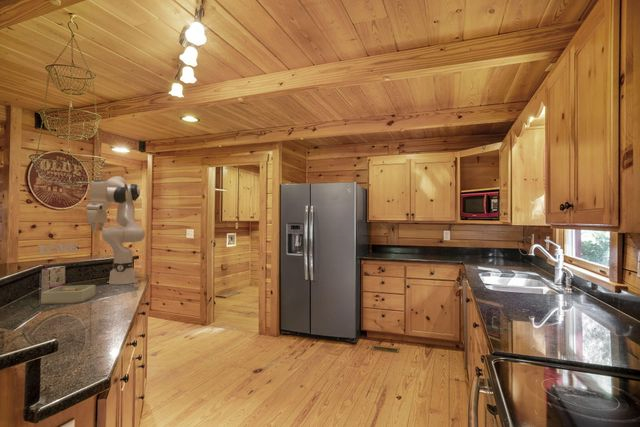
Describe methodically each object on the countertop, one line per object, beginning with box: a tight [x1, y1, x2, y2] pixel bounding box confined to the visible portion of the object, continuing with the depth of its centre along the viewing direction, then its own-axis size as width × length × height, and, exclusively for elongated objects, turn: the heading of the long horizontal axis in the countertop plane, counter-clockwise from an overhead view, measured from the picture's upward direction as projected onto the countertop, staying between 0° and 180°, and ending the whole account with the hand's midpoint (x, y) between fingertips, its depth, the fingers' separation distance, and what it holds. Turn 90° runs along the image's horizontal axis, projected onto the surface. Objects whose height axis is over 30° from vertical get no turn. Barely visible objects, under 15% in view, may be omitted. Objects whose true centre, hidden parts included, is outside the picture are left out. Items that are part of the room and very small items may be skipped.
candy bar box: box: [40, 265, 67, 294], centre depth 185 cm, size 11×5×16 cm, turn 179°
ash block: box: [62, 288, 79, 292], centre depth 178 cm, size 4×6×5 cm
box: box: [40, 284, 97, 306], centre depth 178 cm, size 18×18×6 cm
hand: (97, 230), depth 193 cm, fingers open, 8 cm apart
